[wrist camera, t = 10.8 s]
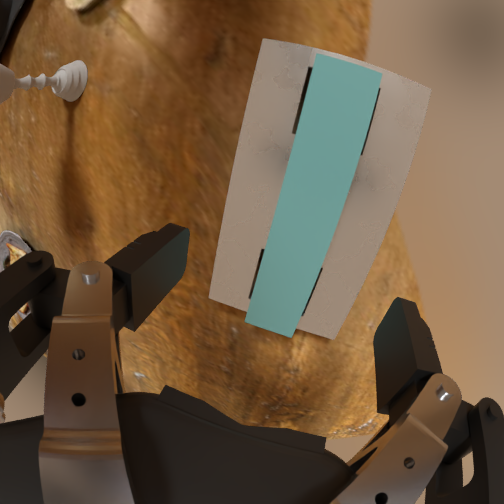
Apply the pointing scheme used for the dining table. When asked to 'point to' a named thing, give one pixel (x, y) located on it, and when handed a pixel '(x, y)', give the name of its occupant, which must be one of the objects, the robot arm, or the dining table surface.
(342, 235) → the plate
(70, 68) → the chalice
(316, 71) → the strip bar
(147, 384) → the dining table surface
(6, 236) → the food plate
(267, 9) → the dining table surface
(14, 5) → the casserole
